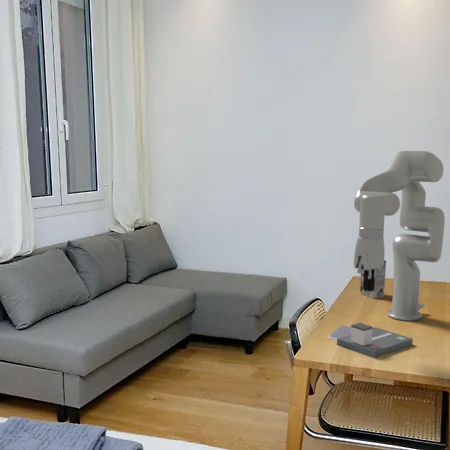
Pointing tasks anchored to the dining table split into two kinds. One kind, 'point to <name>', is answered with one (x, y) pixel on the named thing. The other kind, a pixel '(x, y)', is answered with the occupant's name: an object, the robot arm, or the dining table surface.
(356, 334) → the slider knob
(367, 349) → the switch panel
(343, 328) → the mobile phone
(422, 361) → the dining table surface
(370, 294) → the coffee box
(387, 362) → the dining table surface
